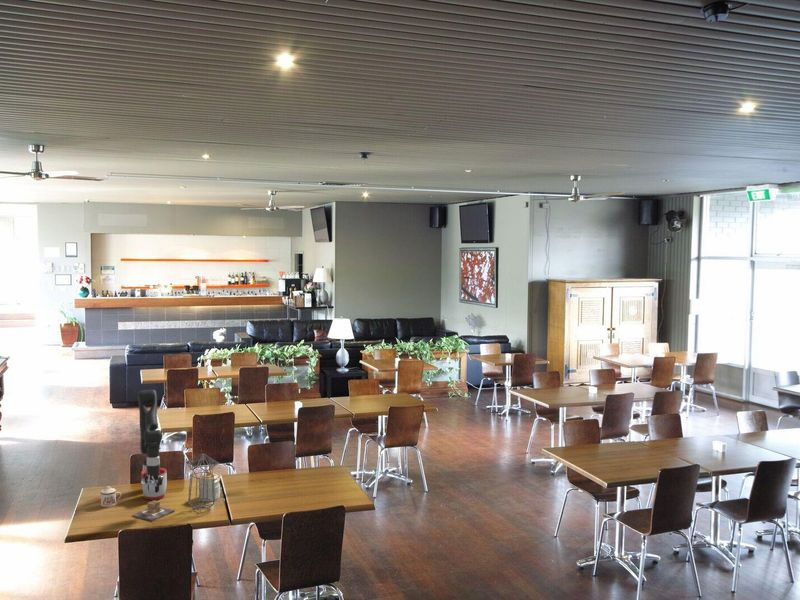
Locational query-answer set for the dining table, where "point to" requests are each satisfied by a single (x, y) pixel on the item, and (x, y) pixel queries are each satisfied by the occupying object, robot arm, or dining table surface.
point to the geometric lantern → (201, 478)
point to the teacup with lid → (109, 497)
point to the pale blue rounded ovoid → (152, 488)
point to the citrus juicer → (161, 488)
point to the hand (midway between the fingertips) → (153, 491)
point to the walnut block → (153, 507)
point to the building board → (153, 517)
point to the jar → (209, 486)
